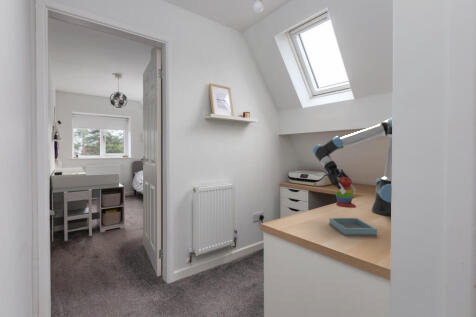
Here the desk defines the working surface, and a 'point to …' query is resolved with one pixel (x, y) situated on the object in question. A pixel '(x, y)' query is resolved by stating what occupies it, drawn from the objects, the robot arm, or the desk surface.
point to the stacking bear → (345, 194)
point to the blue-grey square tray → (352, 227)
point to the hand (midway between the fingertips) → (349, 192)
